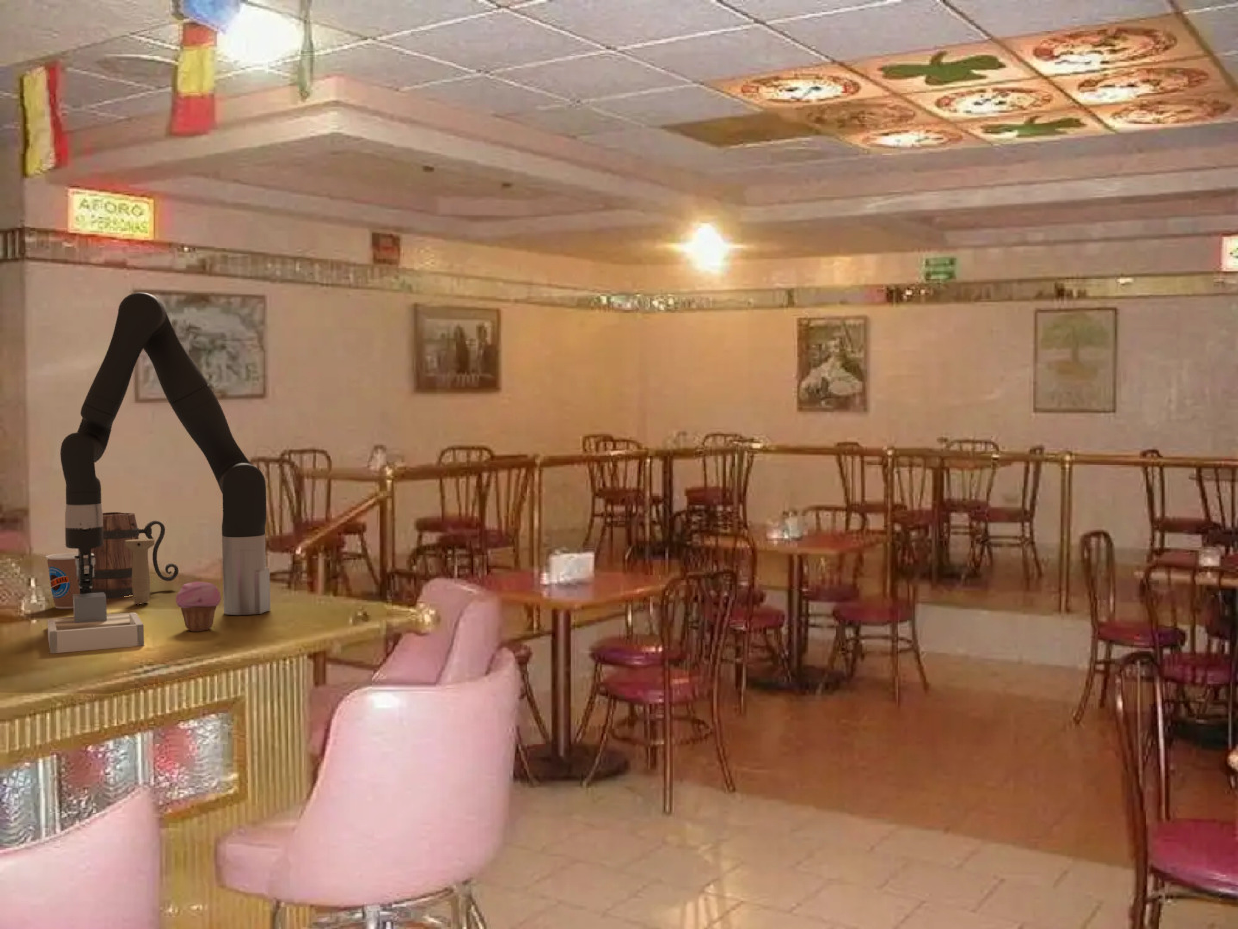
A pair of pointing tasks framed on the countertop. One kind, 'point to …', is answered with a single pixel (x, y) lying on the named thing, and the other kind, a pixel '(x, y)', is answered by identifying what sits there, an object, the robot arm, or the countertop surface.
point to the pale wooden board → (112, 620)
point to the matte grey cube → (89, 607)
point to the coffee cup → (63, 579)
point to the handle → (140, 568)
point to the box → (96, 637)
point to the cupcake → (198, 604)
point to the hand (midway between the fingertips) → (85, 605)
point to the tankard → (121, 555)
